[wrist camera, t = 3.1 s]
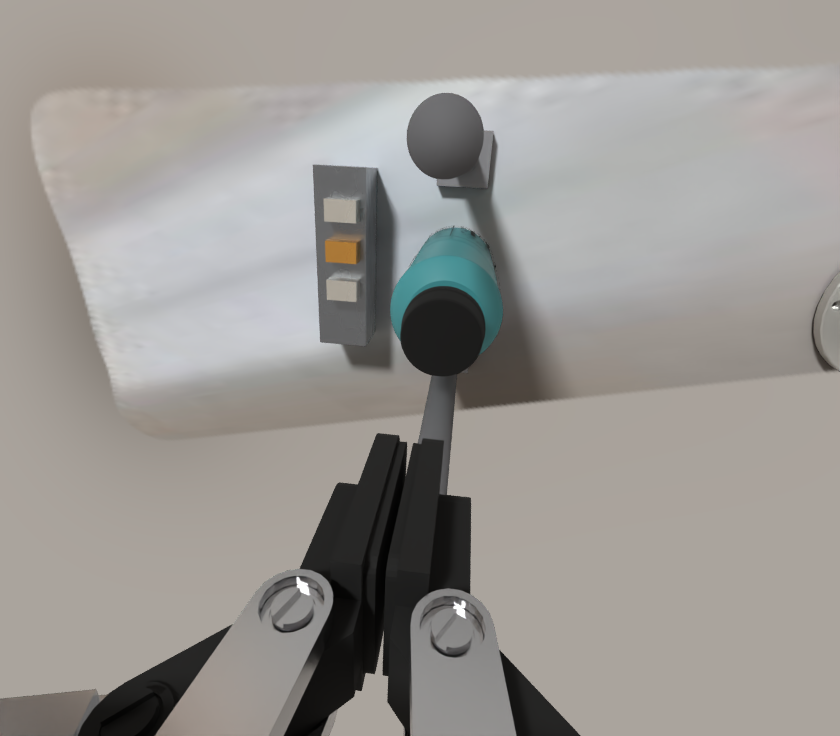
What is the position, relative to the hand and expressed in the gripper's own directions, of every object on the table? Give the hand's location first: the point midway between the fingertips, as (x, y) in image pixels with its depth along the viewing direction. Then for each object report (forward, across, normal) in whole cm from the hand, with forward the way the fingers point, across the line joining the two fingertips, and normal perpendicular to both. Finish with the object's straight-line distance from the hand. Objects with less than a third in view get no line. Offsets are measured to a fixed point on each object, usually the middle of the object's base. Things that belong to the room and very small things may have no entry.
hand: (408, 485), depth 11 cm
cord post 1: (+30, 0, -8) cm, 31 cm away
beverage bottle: (+30, 0, 0) cm, 30 cm away
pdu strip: (+30, +9, 0) cm, 31 cm away
